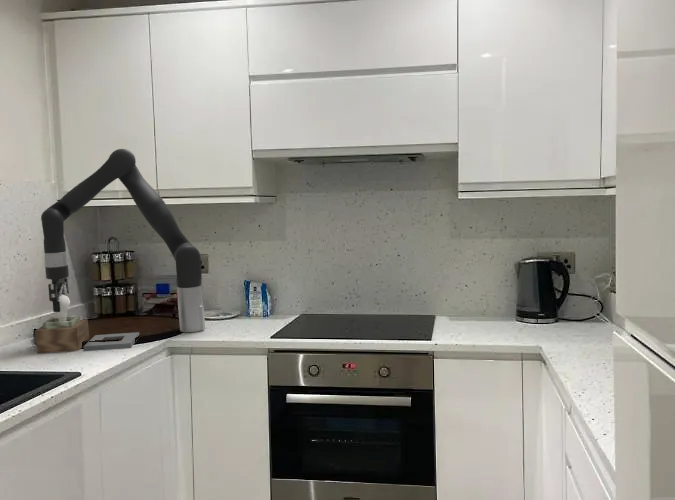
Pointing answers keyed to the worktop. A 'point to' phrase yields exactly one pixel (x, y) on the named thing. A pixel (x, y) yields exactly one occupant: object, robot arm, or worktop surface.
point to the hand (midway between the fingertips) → (60, 309)
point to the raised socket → (62, 335)
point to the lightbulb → (63, 308)
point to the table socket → (124, 343)
